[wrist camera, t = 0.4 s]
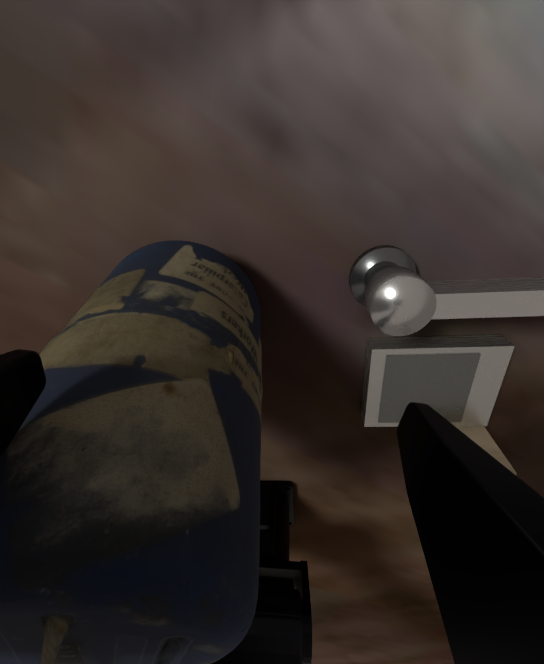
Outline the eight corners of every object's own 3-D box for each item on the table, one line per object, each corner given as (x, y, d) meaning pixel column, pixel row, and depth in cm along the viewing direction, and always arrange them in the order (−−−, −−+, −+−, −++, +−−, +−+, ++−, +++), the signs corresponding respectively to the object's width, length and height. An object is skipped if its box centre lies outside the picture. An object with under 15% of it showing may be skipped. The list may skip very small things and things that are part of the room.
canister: (288, 280, 21) (355, 696, 6) (222, 375, 26) (172, 744, 11) (143, 199, 18) (-378, 647, 3) (96, 323, 22) (-209, 743, 8)
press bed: (476, 411, 26) (487, 426, 24) (360, 413, 26) (364, 427, 25) (501, 334, 22) (515, 346, 21) (367, 338, 23) (372, 350, 22)
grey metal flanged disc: (408, 304, 22) (421, 321, 20) (347, 306, 22) (353, 324, 20) (418, 243, 20) (434, 255, 18) (350, 246, 20) (358, 258, 18)
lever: (610, 310, 18) (651, 331, 16) (361, 318, 19) (369, 338, 17) (638, 254, 17) (686, 269, 15) (365, 266, 18) (374, 281, 16)
